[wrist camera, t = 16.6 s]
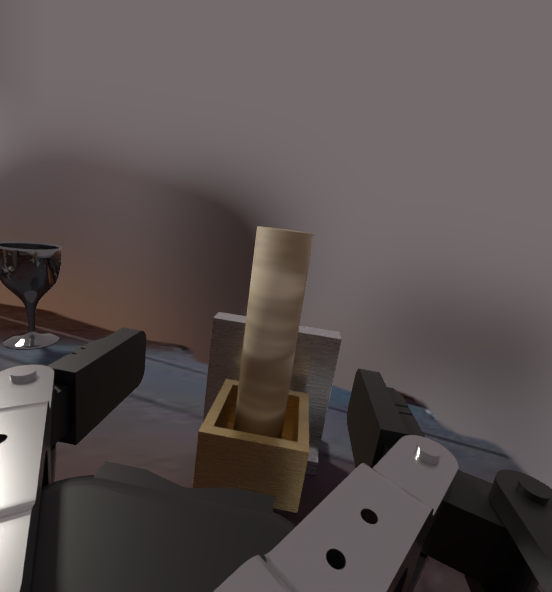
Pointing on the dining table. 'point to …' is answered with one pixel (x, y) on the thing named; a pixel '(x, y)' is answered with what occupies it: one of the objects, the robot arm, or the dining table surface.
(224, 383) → the cup bracket
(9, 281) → the wine glass
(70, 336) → the dining table surface
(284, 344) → the rail post
